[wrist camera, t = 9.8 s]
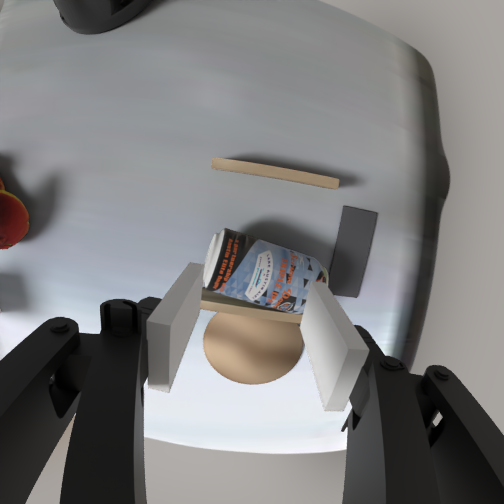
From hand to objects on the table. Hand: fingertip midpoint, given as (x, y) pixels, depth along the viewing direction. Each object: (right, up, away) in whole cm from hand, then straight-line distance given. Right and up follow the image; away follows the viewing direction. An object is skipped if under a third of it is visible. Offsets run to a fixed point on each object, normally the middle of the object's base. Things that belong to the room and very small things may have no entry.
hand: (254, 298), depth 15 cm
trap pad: (+11, +2, +17) cm, 20 cm away
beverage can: (-5, +2, +13) cm, 14 cm away
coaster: (0, -9, +19) cm, 21 cm away
